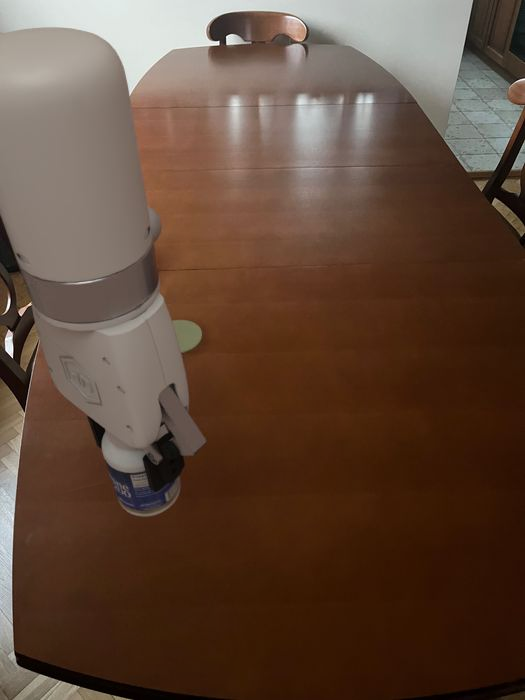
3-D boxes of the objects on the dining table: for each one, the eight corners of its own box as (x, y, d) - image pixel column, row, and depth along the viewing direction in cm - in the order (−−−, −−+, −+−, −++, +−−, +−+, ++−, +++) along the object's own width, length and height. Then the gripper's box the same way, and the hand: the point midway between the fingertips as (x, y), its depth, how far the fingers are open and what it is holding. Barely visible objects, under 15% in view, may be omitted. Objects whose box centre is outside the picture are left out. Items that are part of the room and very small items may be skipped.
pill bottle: (109, 479, 51) (84, 404, 44) (168, 455, 53) (152, 380, 46) (128, 529, 47) (105, 456, 41) (190, 502, 49) (177, 428, 43)
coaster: (177, 361, 92) (176, 359, 92) (142, 340, 96) (142, 338, 95) (212, 334, 96) (212, 332, 96) (177, 314, 100) (177, 313, 100)
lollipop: (123, 281, 107) (105, 208, 97) (153, 264, 111) (139, 191, 101) (148, 297, 104) (132, 222, 94) (178, 278, 108) (166, 205, 97)
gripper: (-44, 247, 36) (37, 432, 49) (142, 372, 28) (183, 556, 41) (57, 199, 41) (108, 381, 53) (245, 296, 32) (253, 484, 45)
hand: (140, 456), depth 47 cm, fingers closed on pill bottle, 5 cm apart
